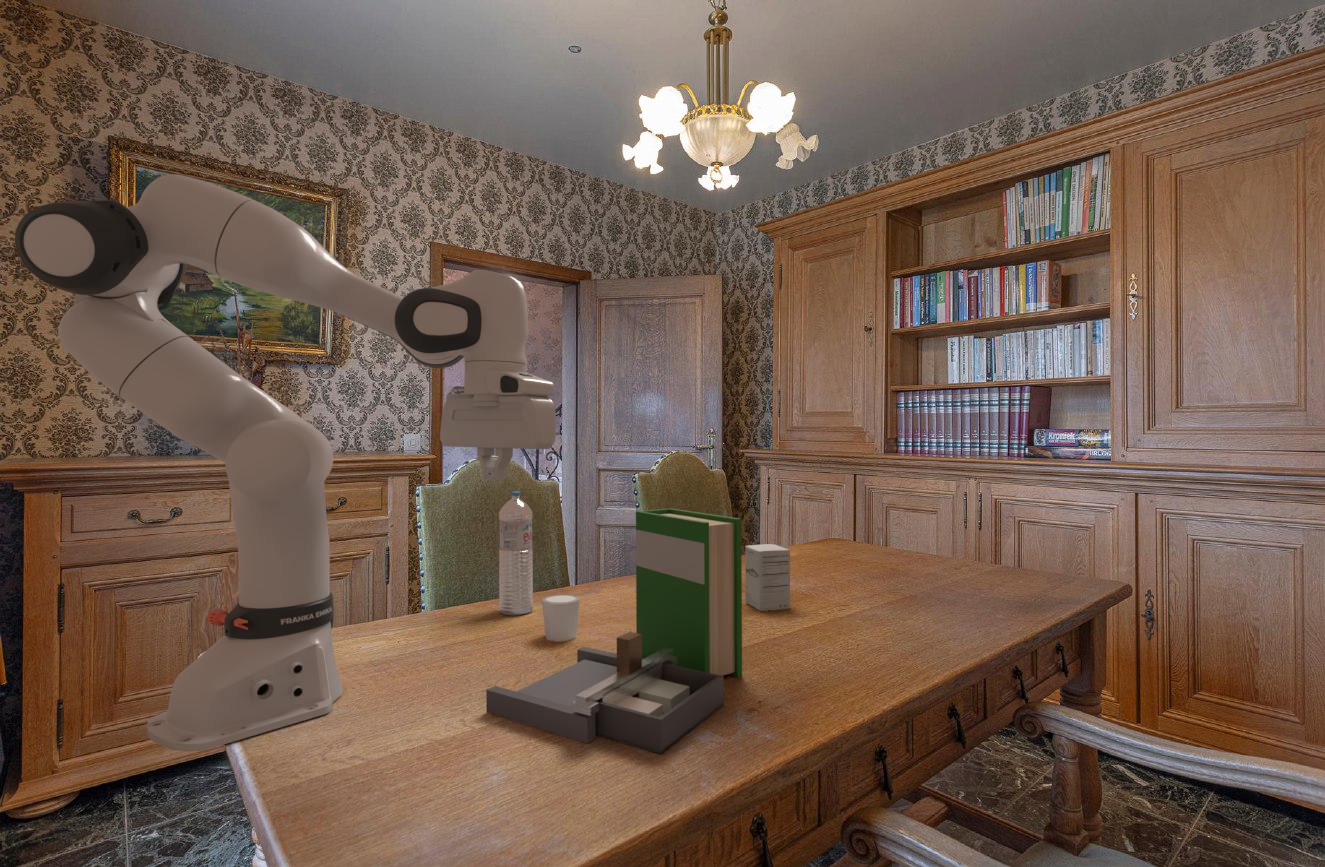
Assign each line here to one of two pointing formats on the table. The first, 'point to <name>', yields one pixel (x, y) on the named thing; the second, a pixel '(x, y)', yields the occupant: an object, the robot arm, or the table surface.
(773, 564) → the supplement box
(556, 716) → the grey railed tray
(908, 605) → the table surface
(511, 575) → the water bottle
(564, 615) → the white cup
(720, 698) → the box
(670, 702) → the sage tile
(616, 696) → the bar
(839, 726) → the table surface
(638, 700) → the cream tile
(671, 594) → the hardback book
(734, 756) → the table surface
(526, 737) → the table surface
